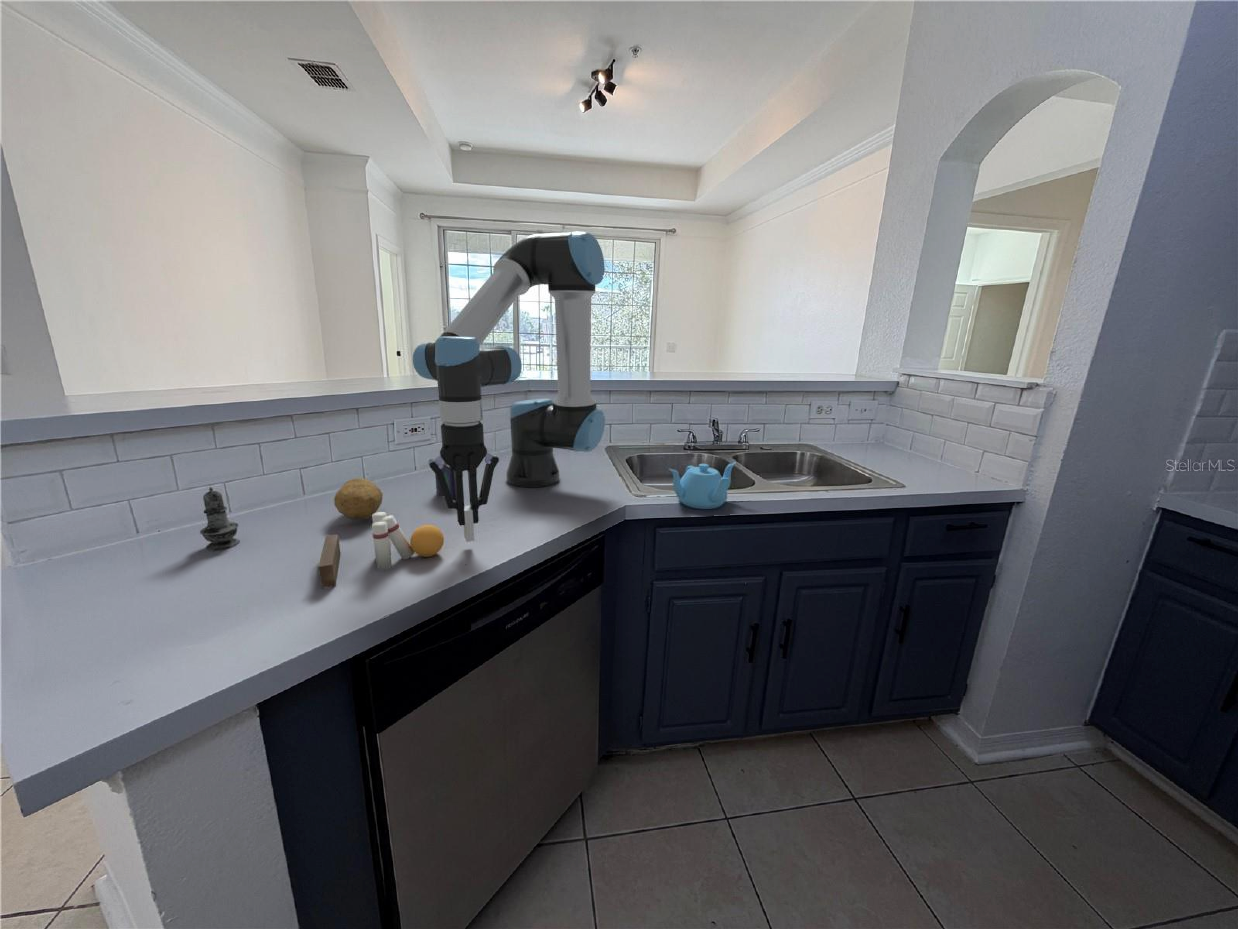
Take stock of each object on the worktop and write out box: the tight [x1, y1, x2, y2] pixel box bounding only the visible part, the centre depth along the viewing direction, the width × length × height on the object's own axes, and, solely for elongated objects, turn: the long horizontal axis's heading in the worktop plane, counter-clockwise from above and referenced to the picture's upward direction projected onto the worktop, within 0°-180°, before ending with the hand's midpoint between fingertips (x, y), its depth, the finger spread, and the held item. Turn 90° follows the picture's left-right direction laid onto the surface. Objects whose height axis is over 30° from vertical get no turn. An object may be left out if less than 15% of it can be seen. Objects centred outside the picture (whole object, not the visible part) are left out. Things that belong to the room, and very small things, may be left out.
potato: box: [333, 477, 383, 521], centre depth 109 cm, size 10×14×8 cm
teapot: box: [668, 461, 737, 510], centre depth 124 cm, size 15×15×10 cm
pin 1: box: [371, 511, 392, 556], centre depth 91 cm, size 2×2×8 cm
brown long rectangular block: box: [318, 534, 342, 589], centre depth 86 cm, size 2×13×4 cm, turn 26°
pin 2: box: [371, 522, 392, 572], centre depth 87 cm, size 2×2×8 cm
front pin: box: [380, 514, 415, 561], centre depth 90 cm, size 2×2×8 cm
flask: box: [434, 460, 456, 501], centre depth 123 cm, size 9×3×11 cm, turn 50°
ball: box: [409, 524, 445, 558], centre depth 92 cm, size 6×6×6 cm
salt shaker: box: [199, 486, 241, 552], centre depth 93 cm, size 6×6×12 cm
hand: (469, 538), depth 96 cm, fingers closed
